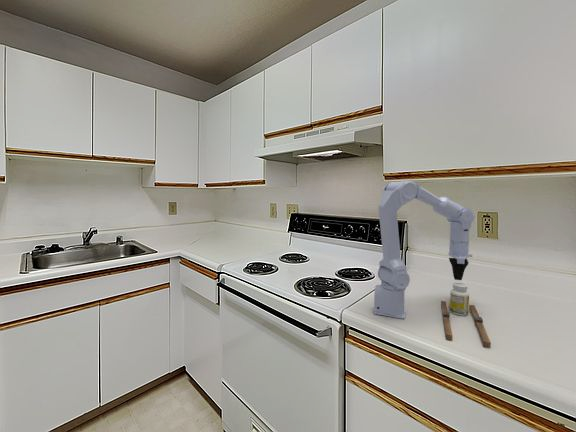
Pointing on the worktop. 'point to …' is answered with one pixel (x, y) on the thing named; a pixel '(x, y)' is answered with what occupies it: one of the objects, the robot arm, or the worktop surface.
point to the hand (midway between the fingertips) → (457, 279)
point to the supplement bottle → (459, 299)
